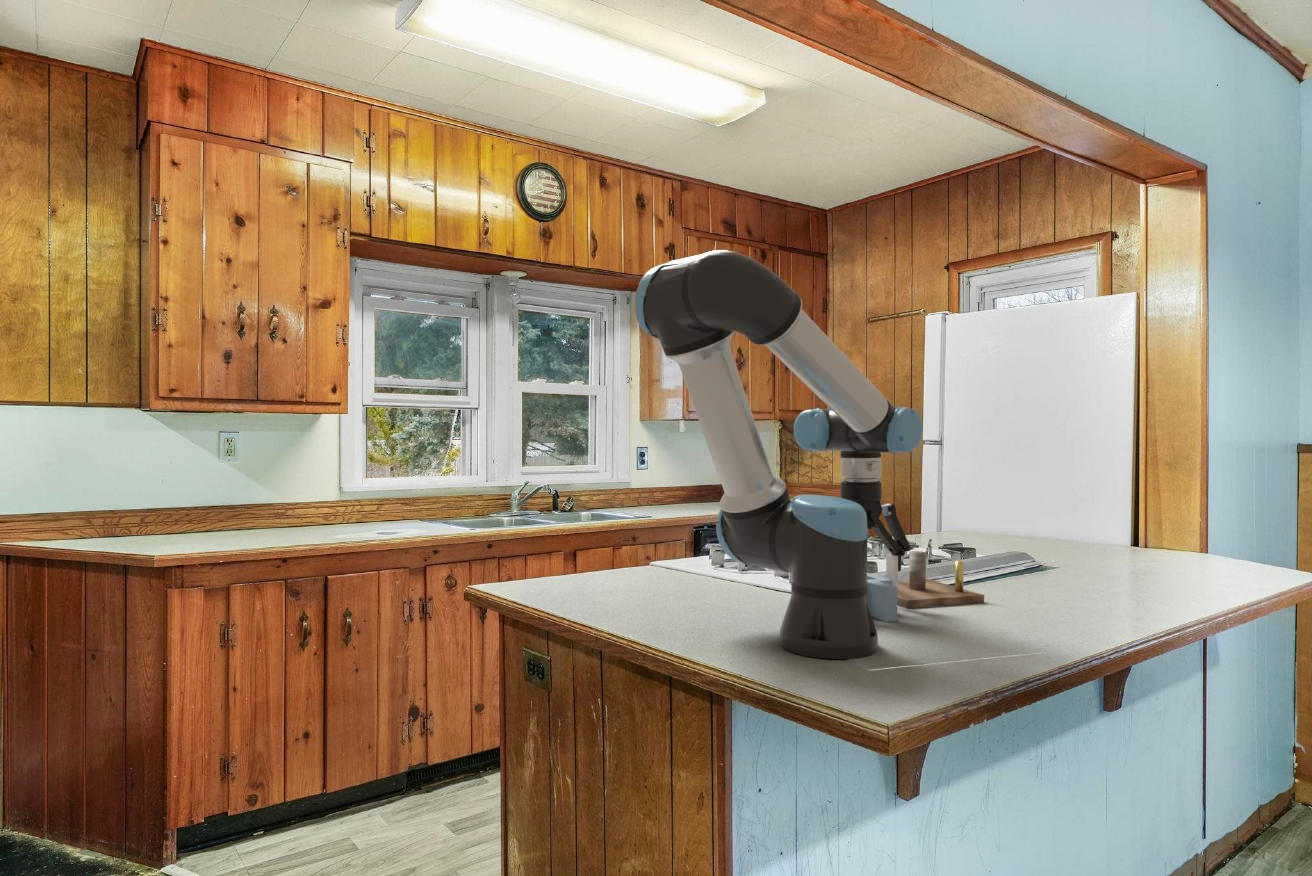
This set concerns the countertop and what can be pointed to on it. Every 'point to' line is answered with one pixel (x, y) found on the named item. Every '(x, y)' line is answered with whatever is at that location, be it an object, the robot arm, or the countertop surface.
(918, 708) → the countertop surface
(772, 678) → the countertop surface
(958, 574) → the dowel
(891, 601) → the pale blue notched block
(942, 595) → the post base
